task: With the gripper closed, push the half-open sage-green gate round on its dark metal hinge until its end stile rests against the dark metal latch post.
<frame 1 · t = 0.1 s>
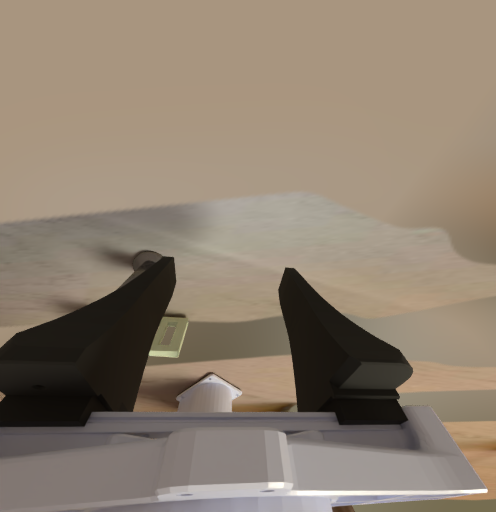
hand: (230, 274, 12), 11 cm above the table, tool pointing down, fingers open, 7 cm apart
gate: (132, 333, 23), point 3 cm above the table, hinge at 40.0°
latch post: (152, 265, 23), on the table
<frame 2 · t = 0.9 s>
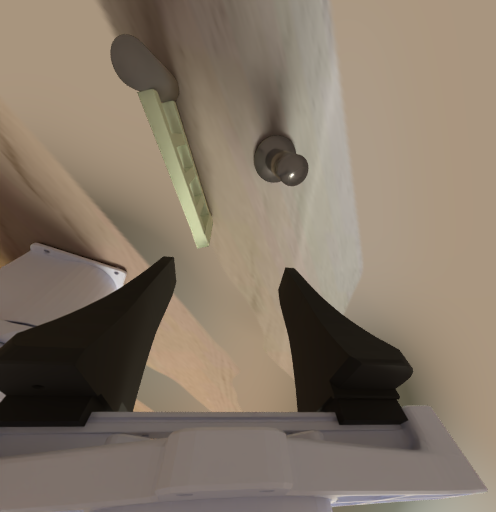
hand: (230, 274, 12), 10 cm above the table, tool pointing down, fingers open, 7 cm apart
gate: (182, 165, 15), point 3 cm above the table, hinge at 40.0°
latch post: (274, 159, 18), on the table
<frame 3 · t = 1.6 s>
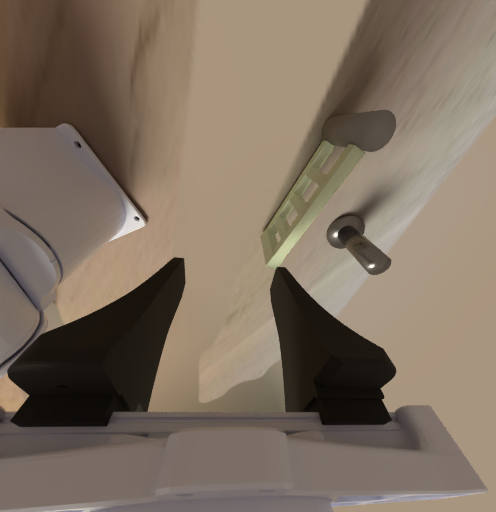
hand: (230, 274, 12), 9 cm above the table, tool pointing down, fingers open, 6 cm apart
gate: (305, 196, 16), point 3 cm above the table, hinge at 40.0°
latch post: (344, 231, 22), on the table
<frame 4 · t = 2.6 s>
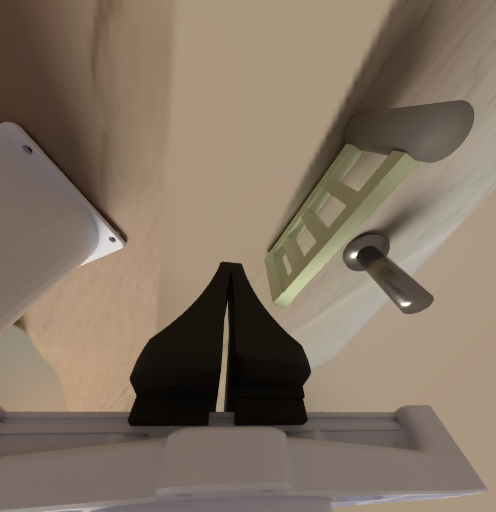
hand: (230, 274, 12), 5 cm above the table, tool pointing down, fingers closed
gate: (324, 216, 12), point 3 cm above the table, hinge at 40.0°
latch post: (364, 251, 18), on the table
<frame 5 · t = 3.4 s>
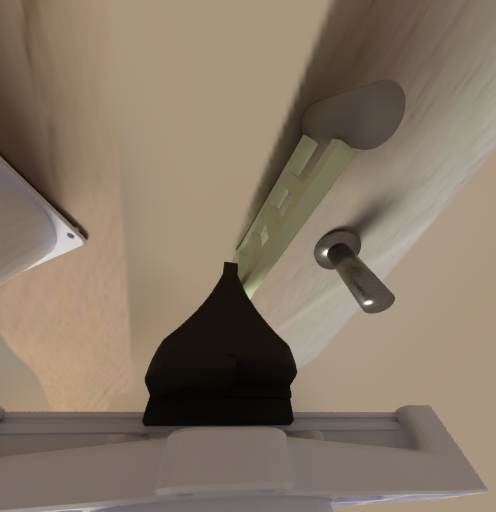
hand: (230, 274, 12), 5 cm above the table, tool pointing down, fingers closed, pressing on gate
gate: (280, 211, 12), point 3 cm above the table, hinge at 39.2°, touching gripper
latch post: (335, 249, 17), on the table
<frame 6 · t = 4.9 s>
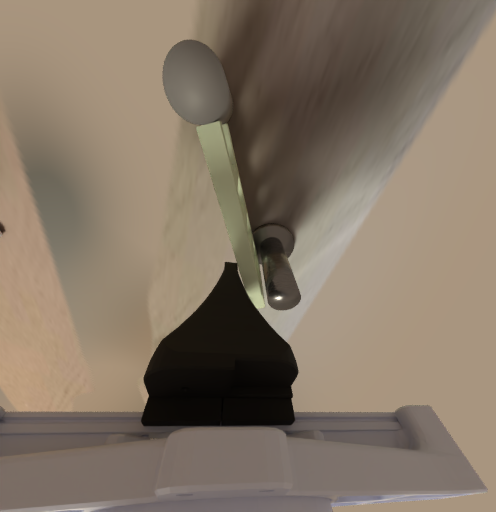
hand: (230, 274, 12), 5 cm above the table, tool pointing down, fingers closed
gate: (236, 207, 11), point 3 cm above the table, hinge at -0.1°, touching gripper
latch post: (270, 244, 17), on the table
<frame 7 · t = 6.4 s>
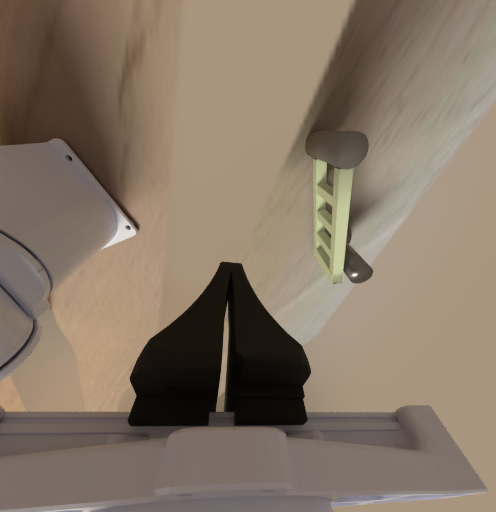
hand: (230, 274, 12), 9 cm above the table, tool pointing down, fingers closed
gate: (328, 213, 17), point 3 cm above the table, hinge at -0.2°
latch post: (331, 239, 22), on the table
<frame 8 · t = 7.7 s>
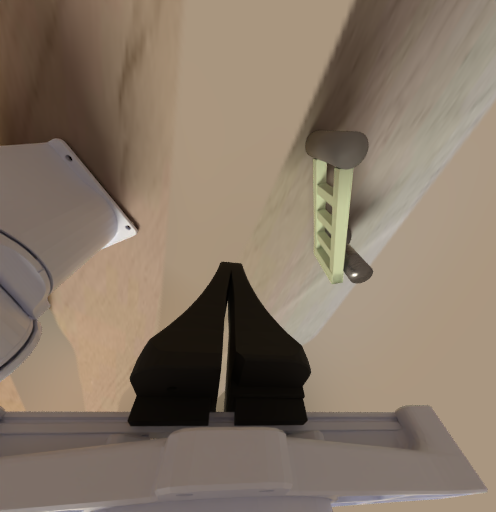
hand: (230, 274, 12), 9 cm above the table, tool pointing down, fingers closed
gate: (328, 213, 17), point 3 cm above the table, hinge at -0.2°
latch post: (331, 239, 22), on the table
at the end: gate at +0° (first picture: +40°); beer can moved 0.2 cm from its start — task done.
